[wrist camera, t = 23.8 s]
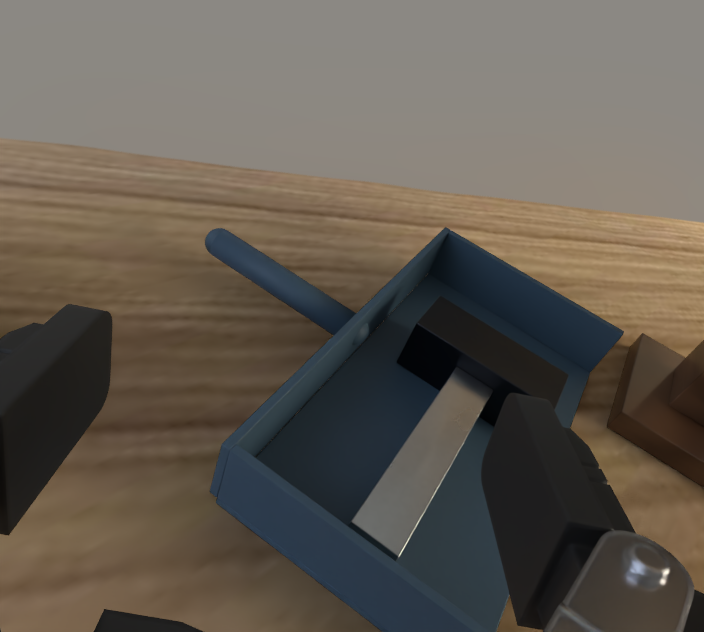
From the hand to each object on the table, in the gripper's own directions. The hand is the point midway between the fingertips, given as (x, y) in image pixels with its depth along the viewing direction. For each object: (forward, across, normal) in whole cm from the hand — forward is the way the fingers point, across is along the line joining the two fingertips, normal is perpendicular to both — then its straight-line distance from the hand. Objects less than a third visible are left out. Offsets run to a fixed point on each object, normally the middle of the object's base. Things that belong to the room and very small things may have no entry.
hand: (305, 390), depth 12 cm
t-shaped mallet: (+13, -7, +10) cm, 18 cm away
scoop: (+17, -3, +9) cm, 20 cm away
